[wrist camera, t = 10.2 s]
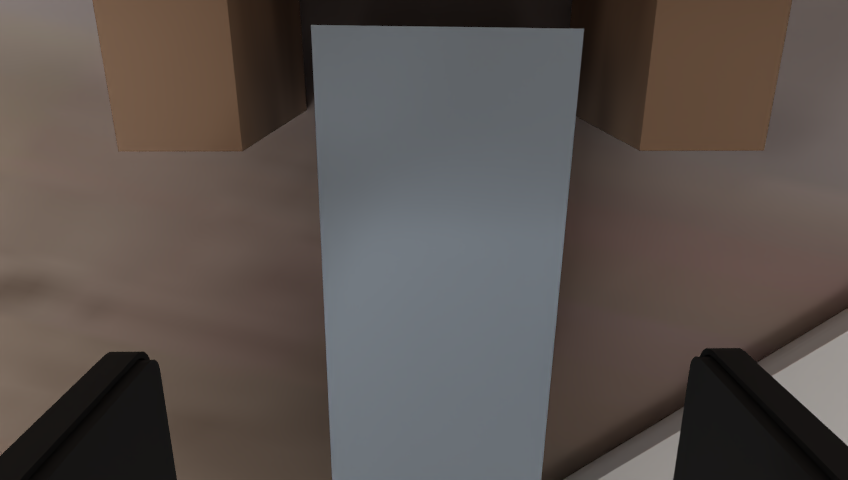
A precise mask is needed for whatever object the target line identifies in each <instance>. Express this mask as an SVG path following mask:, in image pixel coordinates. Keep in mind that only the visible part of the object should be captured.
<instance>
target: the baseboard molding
mask: <svg viewBox="0 0 848 480" xmlns="http://www.w3.org/2000/svg"><path fill="white" fill-rule="evenodd" d="M757 363H758V364H759V365H760V366H761V367H762V368H763V369H764V370H765V371H767V372H768V373H769V374H770V375H771V376H772V377H773V378H774V379H775V380H776V381H778V382H779V383H780V384H781V385H782V386H783V387H784V388H785V389H786V390H787V391H788V392H790V393H791V394H792V395H793V396H794V397H795V398H796V399H797V400H798V401H799V402H800V403H802V404H803V405H804V406H805V407H806V408H807V409H808V410H809V411H810V412H811V413H812V414H814V415H815V416H816V417H817V418H818V419H819V420H820V421H821V422H822V423H823V424H824V425H826V426H827V427H828V428H829V429H830V430H831V431H832V432H833V433H834V434H835V435H836V436H838V437H839V438H840V439H841V440H842V441H843V442H844V443H845V444H846V445H847V446H848V308H847V309H845V310H843V311H842V312H840V313H839V314H837V315H835V316H834V317H832V318H830V319H829V320H827V321H825V322H824V323H822V324H820V325H819V326H817V327H815V328H814V329H812V330H810V331H809V332H807V333H805V334H804V335H802V336H800V337H799V338H797V339H795V340H794V341H792V342H790V343H789V344H787V345H785V346H784V347H782V348H780V349H779V350H777V351H775V352H774V353H772V354H770V355H769V356H767V357H765V358H764V359H762V360H760V361H759V362H757ZM683 410H684V407H682V408H681V409H679V410H677V411H676V412H674V413H673V414H671V415H669V416H668V417H666V418H664V419H663V420H661V421H659V422H658V423H656V424H654V425H653V426H651V427H649V428H648V429H646V430H644V431H643V432H641V433H639V434H638V435H636V436H634V437H633V438H631V439H629V440H628V441H626V442H624V443H623V444H621V445H619V446H618V447H616V448H614V449H613V450H611V451H609V452H608V453H606V454H604V455H603V456H601V457H599V458H598V459H596V460H594V461H593V462H591V463H590V464H588V465H586V466H585V467H583V468H581V469H580V470H578V471H576V472H575V473H573V474H571V475H570V476H568V477H566V478H565V479H563V480H673V477H674V470H675V464H676V457H677V450H678V444H679V437H680V430H681V424H682V417H683Z"/></svg>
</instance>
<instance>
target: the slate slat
mask: <svg viewBox="0 0 848 480" xmlns="http://www.w3.org/2000/svg"><path fill="white" fill-rule="evenodd" d="M583 36H584V29H573V28H499V27H425V26H352V25H311V38H312V59H313V81H314V102H315V123H316V145H317V166H318V188H319V209H320V230H321V252H322V273H323V295H324V316H325V337H326V359H327V380H328V402H329V423H330V444H331V466H332V480H541V476H542V466H543V455H544V445H545V434H546V424H547V413H548V403H549V392H550V382H551V371H552V361H553V350H554V340H555V329H556V319H557V309H558V298H559V288H560V277H561V267H562V256H563V246H564V235H565V225H566V214H567V204H568V193H569V183H570V172H571V162H572V151H573V141H574V130H575V120H576V109H577V99H578V88H579V78H580V67H581V57H582V46H583Z"/></svg>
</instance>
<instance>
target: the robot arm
mask: <svg viewBox="0 0 848 480" xmlns="http://www.w3.org/2000/svg"><path fill="white" fill-rule="evenodd" d="M0 480H177V478H176V471H175V465H174V458H173V452H172V445H171V439H170V432H169V426H168V419H167V413H166V406H165V400H164V393H163V386H162V380H161V373H160V368H159V364H158V362H157V361H156V360H150V359H149V357H148V355H147V354H146V353H145V352H109V353H107V354H106V355H105V356H103V357H102V358H101V359H100V360H99V361H98V362H97V363H96V364H95V365H94V366H93V367H92V368H91V369H90V370H89V371H88V372H87V373H86V374H85V375H84V376H83V377H82V378H81V379H80V380H79V381H78V382H77V383H75V384H74V385H73V386H72V387H71V388H70V389H69V390H68V391H67V392H66V393H65V394H64V395H63V396H62V397H61V398H60V399H59V400H58V401H57V402H56V403H55V404H54V405H53V406H52V407H51V408H50V409H49V410H47V411H46V412H45V413H44V414H43V415H42V416H41V417H40V418H39V419H38V420H37V421H36V422H35V423H34V424H33V425H32V426H31V427H30V428H29V429H28V430H27V431H26V432H25V433H24V434H23V435H22V436H20V437H19V438H18V439H17V440H16V441H15V442H14V443H13V444H12V445H11V446H10V447H9V448H8V449H7V450H6V451H5V452H4V453H3V454H2V455H1V456H0ZM673 480H848V446H847V445H846V444H845V443H844V442H843V441H842V440H841V439H840V438H839V437H838V436H836V435H835V434H834V433H833V432H832V431H831V430H830V429H829V428H828V427H827V426H826V425H824V424H823V423H822V422H821V421H820V420H819V419H818V418H817V417H816V416H815V415H814V414H812V413H811V412H810V411H809V410H808V409H807V408H806V407H805V406H804V405H803V404H802V403H800V402H799V401H798V400H797V399H796V398H795V397H794V396H793V395H792V394H791V393H790V392H788V391H787V390H786V389H785V388H784V387H783V386H782V385H781V384H780V383H779V382H778V381H776V380H775V379H774V378H773V377H772V376H771V375H770V374H769V373H768V372H767V371H765V370H764V369H763V368H762V367H761V366H760V365H759V364H758V363H757V362H756V361H755V360H753V359H752V358H751V357H750V356H749V355H748V354H747V353H746V352H745V351H743V350H742V349H740V348H706V349H705V350H703V351H702V353H701V355H700V357H694V358H693V359H692V361H691V365H690V370H689V377H688V384H687V390H686V397H685V404H684V410H683V417H682V424H681V430H680V437H679V444H678V450H677V457H676V464H675V470H674V477H673Z"/></svg>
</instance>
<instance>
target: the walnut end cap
mask: <svg viewBox="0 0 848 480" xmlns="http://www.w3.org/2000/svg"><path fill="white" fill-rule="evenodd" d="M791 4H792V0H572V9H571V22H570V28H573V29H584V36H583V46H582V57H581V67H580V78H579V88H578V99H577V109H576V116H577V117H579V118H580V119H582V120H584V121H586V122H588V123H590V124H591V125H593V126H595V127H597V128H599V129H601V130H603V131H604V132H606V133H608V134H610V135H612V136H614V137H615V138H617V139H619V140H621V141H623V142H625V143H626V144H628V145H630V146H632V147H634V148H636V149H637V150H639V151H754V150H764V148H765V142H766V137H767V132H768V126H769V121H770V116H771V110H772V105H773V100H774V94H775V89H776V84H777V78H778V73H779V68H780V62H781V57H782V52H783V46H784V41H785V36H786V30H787V25H788V20H789V14H790V9H791ZM93 6H94V12H95V18H96V24H97V29H98V35H99V41H100V47H101V53H102V58H103V64H104V70H105V76H106V82H107V88H108V93H109V99H110V105H111V111H112V117H113V122H114V128H115V134H116V140H117V146H118V151H244V150H245V149H247V148H248V147H250V146H251V145H253V144H254V143H256V142H258V141H259V140H261V139H262V138H264V137H265V136H267V135H268V134H270V133H272V132H273V131H275V130H276V129H278V128H279V127H281V126H282V125H284V124H286V123H287V122H289V121H290V120H292V119H293V118H295V117H296V116H298V115H300V114H301V113H303V112H304V111H306V110H307V107H306V92H305V77H304V62H303V46H302V31H301V16H300V1H299V0H93Z"/></svg>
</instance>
